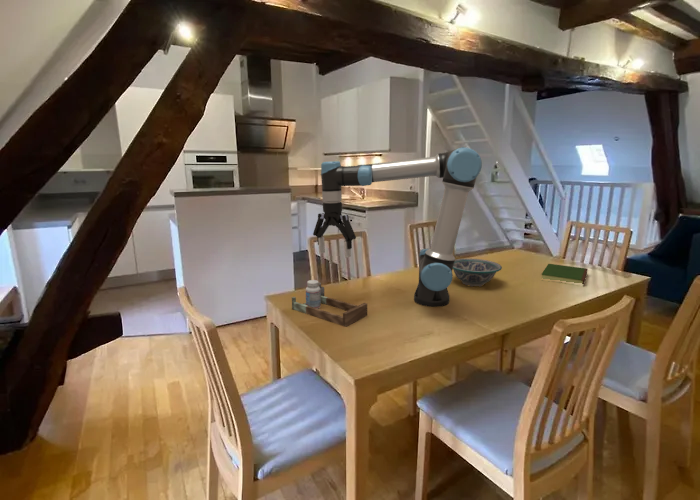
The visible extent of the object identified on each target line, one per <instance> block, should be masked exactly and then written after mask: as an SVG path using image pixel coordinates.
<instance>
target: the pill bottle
mask: <svg viewBox="0 0 700 500" xmlns="http://www.w3.org/2000/svg"><path fill="white" fill-rule="evenodd" d="M318 282H319V281H318V280H316V279H309V280H307V282H306V285H307V286H306V288H305V303H306V305H307V306H311V307H314V308H317V309H320V308H321V306H322V305H321V304H322V303H321V294H320V287H319V286H318V284H319V283H318Z"/></svg>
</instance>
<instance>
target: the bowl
mask: <svg viewBox="0 0 700 500" xmlns="http://www.w3.org/2000/svg"><path fill="white" fill-rule="evenodd" d="M502 269H503V267H502V265H501V264H499V263H497V262H495V261H491V260H487V259H482V258H481V259H480V258H458V259H457V258H455V262H454V266H453V270H452V271H453V273H454V275H455V276H456V278H457V279H458V280H459V281H461V283H462V284H463V285H464V284H465V286H467V285H470V286H469V287H473V286H479V287H483V286H482V285H484V284H486V283H489V282H491V280H492V279H493V278H494V277H495V275H496V274H497V272H499V271H500V272H501V271H502ZM484 286H485V285H484Z"/></svg>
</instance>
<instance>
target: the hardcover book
mask: <svg viewBox="0 0 700 500" xmlns="http://www.w3.org/2000/svg"><path fill="white" fill-rule="evenodd" d="M540 275H541V279H542V278H543V279H550V280H560V281H566V282H574V283H582V284H584V285H585V283H584V281H585V282H586V279H585V278H587V276H586V275H588V268H587V267H586V268H585V267H578V266H577V267H576V266H569V265H562V264H556V263H547V265H546V267H544V270H542V273H541V274H540Z"/></svg>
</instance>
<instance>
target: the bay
mask: <svg viewBox="0 0 700 500" xmlns="http://www.w3.org/2000/svg"><path fill="white" fill-rule="evenodd" d="M318 283H319V284H318V286H319V287H320V294H321V304H322V305H326V306H328V307H332V308H336V309H338V310H342V311H344V312H342V315H340V314H336V313H334V312H330V311H326V310H324V309H323V310H322V309H320V308H319V309H317V308H314V307H311V306H307V305H306V302H304V303H301V302H299V301H298V302H297V297H296V296H293V297H291V310H293V311H297V312H299V313H302V314H306V315H309V316H312V317H315V318H318V319H322V320H324V321H328V322H331V323H334V324H337V325H340V326H343V327H348V326H350V325H352V324H354V323H356V322H357V321H360V320H362V319H363V318H365V317H367V316H368V303H366V302H363V303H360V304H358V305H356V304H354V303H350V302H346V301H343V300H338V299H335V298H331V297H328V296H325V287H324V286H322V282H321V281H318Z"/></svg>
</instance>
